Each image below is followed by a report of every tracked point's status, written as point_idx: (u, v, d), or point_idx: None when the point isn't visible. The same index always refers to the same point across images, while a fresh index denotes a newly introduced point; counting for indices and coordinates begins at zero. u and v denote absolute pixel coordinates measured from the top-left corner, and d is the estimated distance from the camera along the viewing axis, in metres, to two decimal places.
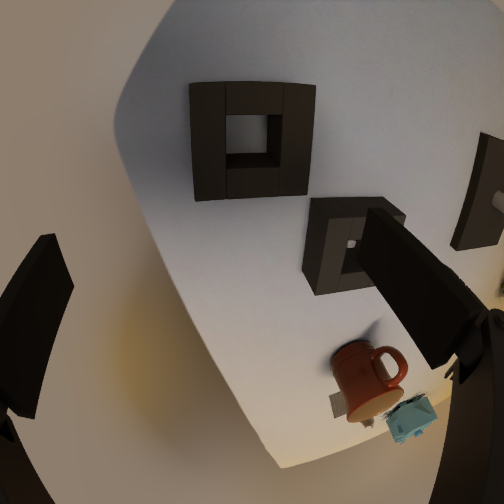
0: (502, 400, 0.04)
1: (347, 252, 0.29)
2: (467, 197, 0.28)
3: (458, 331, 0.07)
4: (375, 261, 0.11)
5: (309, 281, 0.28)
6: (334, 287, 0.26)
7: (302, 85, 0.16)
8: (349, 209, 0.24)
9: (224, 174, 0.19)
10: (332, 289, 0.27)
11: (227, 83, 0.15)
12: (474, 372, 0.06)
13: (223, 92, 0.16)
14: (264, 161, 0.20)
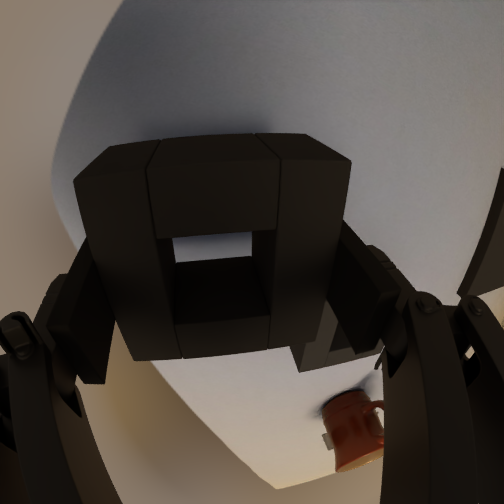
0: (437, 397, 0.05)
1: None
2: (481, 242, 0.24)
3: (373, 313, 0.08)
4: None
5: (293, 354, 0.23)
6: (321, 363, 0.22)
7: (323, 163, 0.08)
8: None
9: (172, 331, 0.10)
10: (319, 365, 0.22)
11: (149, 171, 0.07)
12: (402, 365, 0.06)
13: (143, 193, 0.07)
14: (245, 292, 0.12)
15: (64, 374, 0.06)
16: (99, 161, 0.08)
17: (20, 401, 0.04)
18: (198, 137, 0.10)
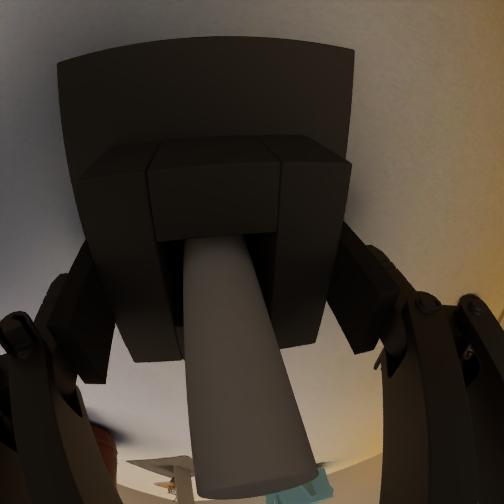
0: (436, 397, 0.05)
1: None
2: None
3: (372, 313, 0.08)
4: None
5: None
6: None
7: (323, 165, 0.08)
8: None
9: (172, 333, 0.10)
10: None
11: (149, 174, 0.07)
12: (401, 365, 0.06)
13: (143, 196, 0.07)
14: None
15: (65, 374, 0.06)
16: (99, 163, 0.08)
17: (21, 401, 0.04)
18: (198, 139, 0.10)
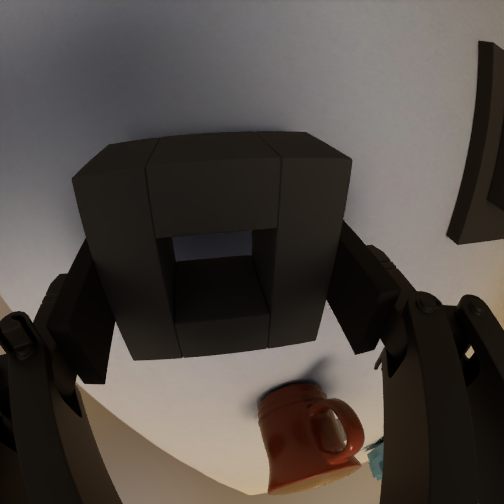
0: (437, 397, 0.05)
1: (226, 265, 0.13)
2: (471, 149, 0.15)
3: (373, 313, 0.08)
4: None
5: None
6: (172, 348, 0.11)
7: None
8: (167, 150, 0.08)
9: None
10: (169, 352, 0.11)
11: None
12: (401, 365, 0.06)
13: None
14: None
15: (65, 374, 0.06)
16: None
17: (20, 401, 0.04)
18: None
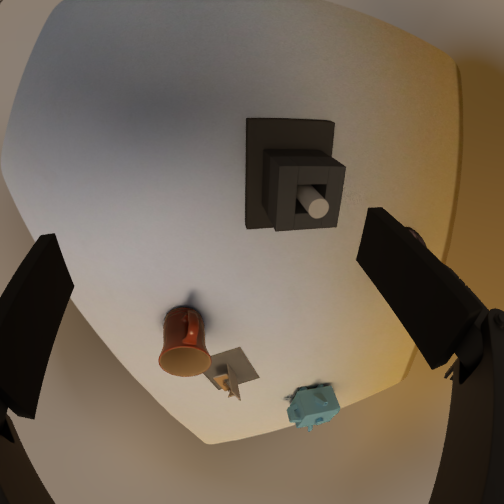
0: (502, 400, 0.04)
1: None
2: None
3: (458, 331, 0.07)
4: (375, 261, 0.11)
5: (272, 222, 0.36)
6: (291, 225, 0.34)
7: None
8: (298, 162, 0.32)
9: None
10: (289, 226, 0.34)
11: None
12: (474, 372, 0.06)
13: None
14: None
15: None
16: (270, 153, 0.34)
17: None
18: (290, 149, 0.37)
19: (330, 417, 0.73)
